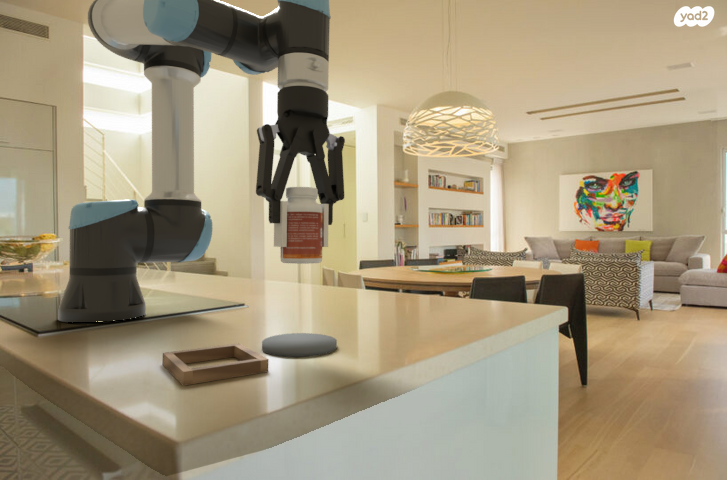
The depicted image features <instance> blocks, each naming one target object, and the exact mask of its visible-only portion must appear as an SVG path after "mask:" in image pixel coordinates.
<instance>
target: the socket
mask: <svg viewBox="0 0 727 480" xmlns="http://www.w3.org/2000/svg"><path fill="white" fill-rule="evenodd" d="M226 358H236V359H237V360H238V361H233V362H225V363H220V364H219V363H218V364H211V365H206V366H205V365H204V366H198V367H190V366H189V365H187V364H190V363H200V362H206V361H213V360H214V361H215V360H221V359H226ZM162 366H163V367H164V368H165V369H166V370H167V371H168V372H169V373H170V374H171V375H172V376H173V377H174V378H175V379H176V380H177V382H179V383H180V384H181V385H182V386H183V387H184V386H189V385H190V386H191V385H194V384H202V383H206V382H207V383H208V382H213V381H218V380H226V379H232V378H237V377H244V376H250V375H255V374H261V373H262V374H263V373H267V372H269V358H267V357H265V356H263V355H261V354H260V353H258V352H256V351H254V350H252V349H251V348H248V347H247V346H244V345H243V344H241V343H232V344H231V343H230V344H224V345H217V346H215V345H213V346H208V347H207V346H206V347H200V348H199V347H198V348H191V349H190V348H189V349H183V350H175V351H166V352H162Z"/></svg>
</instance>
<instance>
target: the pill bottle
mask: <svg viewBox="0 0 727 480" xmlns="http://www.w3.org/2000/svg"><path fill="white" fill-rule="evenodd" d="M285 197H286V199H287V247H279V248H280V262H281V263H283V264H300V265H301V264H302V265H303V264H305V265H306V264H319V263H321V262H322V261H323V247H322V207H321V206H320V205H319V204H320V203H318V202H317V199H318V198H319V196H318V189H317V188H316V187H312V186H311V187H310V186H289V187H285Z"/></svg>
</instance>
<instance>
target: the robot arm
mask: <svg viewBox="0 0 727 480" xmlns="http://www.w3.org/2000/svg"><path fill="white" fill-rule="evenodd" d="M277 6H278V7H277V8H275V9H274V10H272V11H271V12H269V13H267V14H265V15H263V16H260V15H257V14H255V13H253V12H250V11H247V10H245V9H242V8H240V7H237V6H234V5H232V4H230V3H228V2H225V1H222V0H93V1H92V3H90V6H89V8H88V12H87V24H88V27H89V30H90V32H91V33H92V35H93V37H94V38H95V39H96V41H97V42H98V43H99V44H100V45H102V47H104V48H105V49H106V50H108V51H110V52H112V53H113V54H115V55H117V56H119V57H121V58H124V59H126V60H130V61H134V62H137V63H140V64H143V75H144V77H145V78H146V79H147V80H148V81H149V82H150V83H151V193H150V194H149V195H148V196H146V197H145V198H144V201H143V202H144V204H143V205H144V206H139V205H140V204H139V203H138V201H137V199H116V200H102V201H101V200H99V201H90V202H89V201H87V202H80V203H76V204H75V205H74V206H72V208H71V211H70V219H69V224H68V225H69V226H68V230H69V274H68V275H69V278H68V282H67V284H66V287H65V290H64V292H63V296H62V297H61V299H60V303H59V305H58V309H57V320H58V321H59V322H62V323H68V322H72V324H74V323H73V322H96V321H97V322H98V321H113V320H123V319H130V318H135V317H139V316H142V317H144V316H145V315H146V309H147V307H146V306H147V305H146V301H145V299H144V295H143V292H142V290H141V286H140V284H139V280H138V277H137V269H138V268H137V266H138V264H140V263H141V264H142V263H145V264H146V263H184V262H193V261H197V260H199V259H200V258H202V257H203V256H204V254H205V253H206V251H208V249H209V247H210V244H211V241H212V237H213V236H212V235H213V220H212V219H211V215H210V213H209V212H208V211H207V210H206V209H205V210H204V209H202V200H201V199H200V198H199V197H198V196H197V195H196V193H195V143H194V142H195V136H194V135H195V131H194V130H195V126H194V124H195V123H194V122H195V121H194V120H195V118H194V117H195V116H194V115H195V114H194V113H195V111H194V109H195V108H194V107H195V106H194V105H195V102H194V101H195V100H194V98H195V97H194V95H195V94H194V93H195V91H194V89H195V87H197V85H199V84H200V83H201V78H203V77H205V76H206V75H207V74H208V72H209V69H210V66H211V65H210V63H211V62H212V54H215V55H216V56H220V57H223V58H226V59H230V60H232V61H233V64H234V65H235V66H237V67H238V68H239V69H240V70H241V71H242V72H243V73H244V74H248V75H252V76H253V75H254V76H255V75H260V74H265V73H270V72H273V70H275V69H277V88H278V89H279V91H278V92H277V101H276V102H277V108H276V109H277V111H276V113H277V120H276V122H275V123H274V124H271V125H270V124H268V123H267V124H264V125H261V126H259V127H257V129H256V135H257V137H258V142H259V149H258V150H259V151H258V160H257V161H258V162H257V171H256V172H257V173H256V185H255V194H256V195H257V196H258V197H262V198H264V199H265V200H266V202H268V222H269V224H273V247H274V248H275V247H277V248H281V247H287V201H288V200H287V201H286V200H282V199H283V197H284V192H285V191H286V188H287V187H286V186H287V184H288V180H289V177H290V174H291V170H292V168H293V165H294V161H295V159H296V157H297V156H298V154H300V155H302V156H305V157H306V159H307V162H308V163H309V166H310V169H311V173H312V177H313V179H314V180H313V181H314V185H315V188H317V189H318V199H319V203H318V204H319V205H320V206H321V207H322V248H327V247H328V248H329V226H332V224H333V217H334V216H333V214H334V210H333V209H334V204H336V203H337V202H339V201H343V200H345V182H344V180H345V179H344V162H343V160H344V159H343V158H344V157H343V150H344V145H345V143H346V142H345V141H346V140H345V137H344V136H342V135H341V136H336V135H334V134H332V133H330V129H329V127H328V123H327V122H328V118H329V94H328V93H327V92H328V90H329V63H330V62H329V61H330V60H329V59H330V24H331V23H330V20H331V13H330V0H277ZM277 136H278V138H279V139H280V141H281V143H282V146H281V149H280V152H279V159H278V162H277V166H276V168H275V172H274V174H273V168H274V167H273V166H274V157H275V156H274V154H275V140H276V138H277ZM325 143H326V146H325V147H326V148H327V165H326V161H325V158H326V155H325V154H326V153H325V150H324V144H325ZM143 315H144V316H143ZM139 318H140V317H139ZM135 319H136V318H135ZM130 320H131V319H130ZM123 321H124V320H123Z"/></svg>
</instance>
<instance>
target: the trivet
mask: <svg viewBox="0 0 727 480" xmlns="http://www.w3.org/2000/svg"><path fill="white" fill-rule="evenodd" d="M337 342H338V341H337V339H336V338H335V337H333V336H330V335H326V334H321V333H320V334H319V333H310V332H309V333H308V332H307V333H306V332H300V333H299V332H296V333H294V332H293V333H283V334H276V335H272V336H269V337H266V338H264V339H263V340H262V341H261V350H262V351H263V352H264V353H265V354H267V355H268V354H269V355H271V356H276V357H277V356H278V357H285V358H286V357H288V358H305V357H318V356H322V355H328V354H329V353H332V352H334V351H336V349H337V346H338V345H337Z"/></svg>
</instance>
